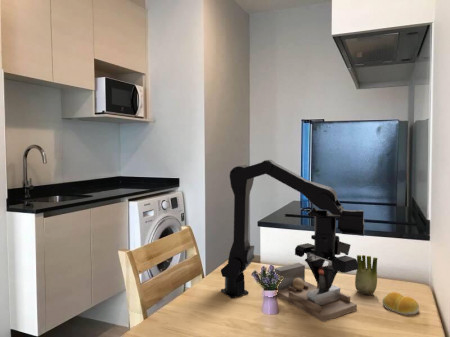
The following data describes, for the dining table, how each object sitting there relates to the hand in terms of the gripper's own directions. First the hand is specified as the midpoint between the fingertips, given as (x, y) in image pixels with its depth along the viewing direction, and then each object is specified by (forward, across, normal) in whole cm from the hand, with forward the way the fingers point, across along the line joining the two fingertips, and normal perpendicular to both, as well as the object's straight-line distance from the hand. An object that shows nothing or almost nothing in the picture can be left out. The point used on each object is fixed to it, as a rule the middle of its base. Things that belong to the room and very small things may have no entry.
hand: (324, 286), depth 104 cm
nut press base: (+6, +4, 0) cm, 7 cm away
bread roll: (+6, -12, -18) cm, 22 cm away
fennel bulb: (+6, 0, -18) cm, 19 cm away
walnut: (+3, +10, 0) cm, 11 cm away
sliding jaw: (+4, 0, 0) cm, 4 cm away
